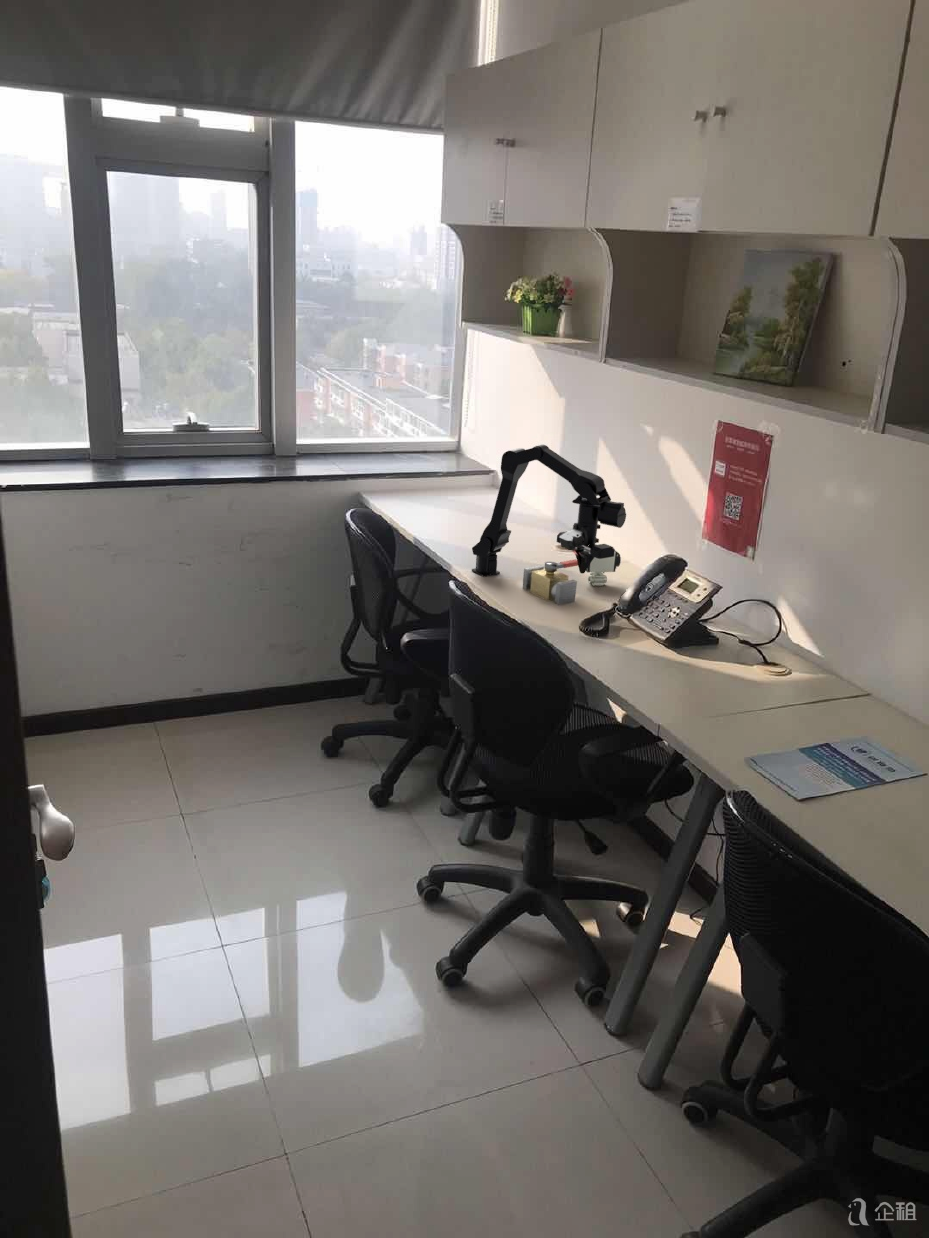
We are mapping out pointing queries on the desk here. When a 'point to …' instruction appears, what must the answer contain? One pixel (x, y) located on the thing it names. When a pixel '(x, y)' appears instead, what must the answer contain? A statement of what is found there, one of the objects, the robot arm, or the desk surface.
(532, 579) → the valve pipe
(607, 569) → the pneumatic valve
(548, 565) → the lever
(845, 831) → the desk surface
